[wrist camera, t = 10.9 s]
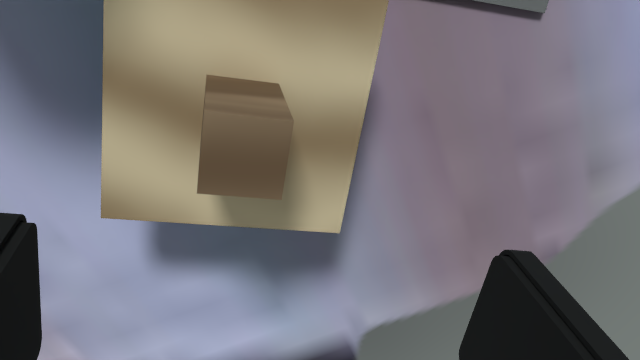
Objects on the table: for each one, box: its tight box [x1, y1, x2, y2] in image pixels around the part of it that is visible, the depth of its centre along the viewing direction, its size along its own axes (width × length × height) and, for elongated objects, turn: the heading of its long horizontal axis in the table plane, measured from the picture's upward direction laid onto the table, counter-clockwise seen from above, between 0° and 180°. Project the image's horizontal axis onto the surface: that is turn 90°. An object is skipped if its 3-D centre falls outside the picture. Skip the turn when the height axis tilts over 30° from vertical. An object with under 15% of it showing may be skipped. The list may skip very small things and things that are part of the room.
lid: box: [101, 0, 389, 233], centre depth 21 cm, size 11×11×6 cm
